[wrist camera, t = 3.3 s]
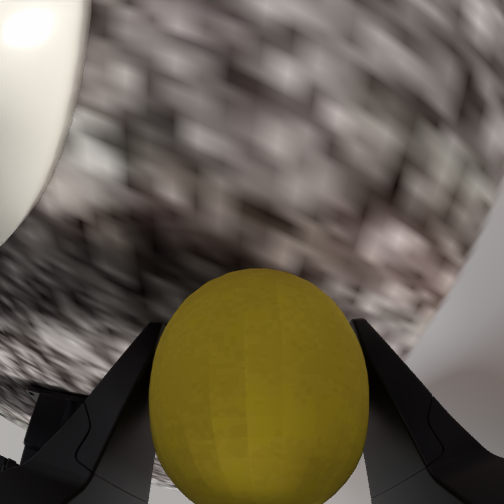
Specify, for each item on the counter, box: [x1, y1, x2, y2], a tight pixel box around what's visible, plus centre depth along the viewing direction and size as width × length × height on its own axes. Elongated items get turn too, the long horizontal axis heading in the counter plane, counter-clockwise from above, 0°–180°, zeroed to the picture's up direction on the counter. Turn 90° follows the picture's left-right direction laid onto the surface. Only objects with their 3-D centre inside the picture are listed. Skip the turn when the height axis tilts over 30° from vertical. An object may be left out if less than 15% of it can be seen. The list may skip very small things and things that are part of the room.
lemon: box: [149, 269, 369, 504], centre depth 8 cm, size 6×6×8 cm
